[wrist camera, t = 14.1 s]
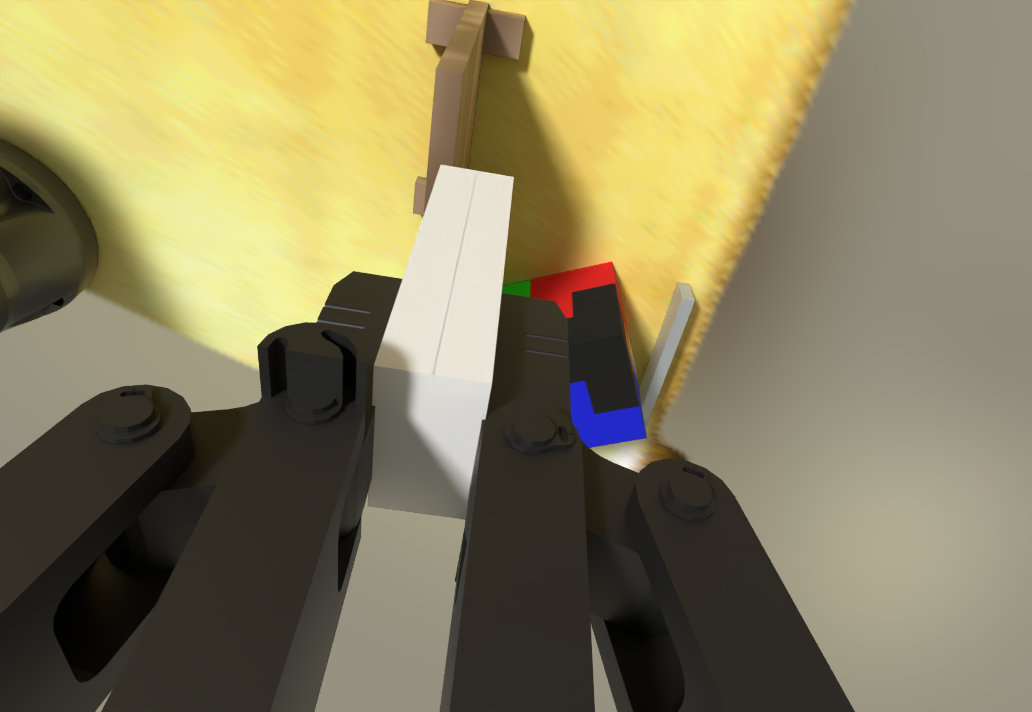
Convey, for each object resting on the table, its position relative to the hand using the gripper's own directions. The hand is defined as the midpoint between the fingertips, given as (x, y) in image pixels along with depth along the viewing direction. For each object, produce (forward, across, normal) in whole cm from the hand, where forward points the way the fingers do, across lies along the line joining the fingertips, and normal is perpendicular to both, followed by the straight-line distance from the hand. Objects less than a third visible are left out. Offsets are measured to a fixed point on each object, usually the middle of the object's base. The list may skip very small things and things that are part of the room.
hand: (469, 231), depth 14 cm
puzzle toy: (+35, -8, +25) cm, 44 cm away
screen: (+34, +2, +10) cm, 36 cm away
